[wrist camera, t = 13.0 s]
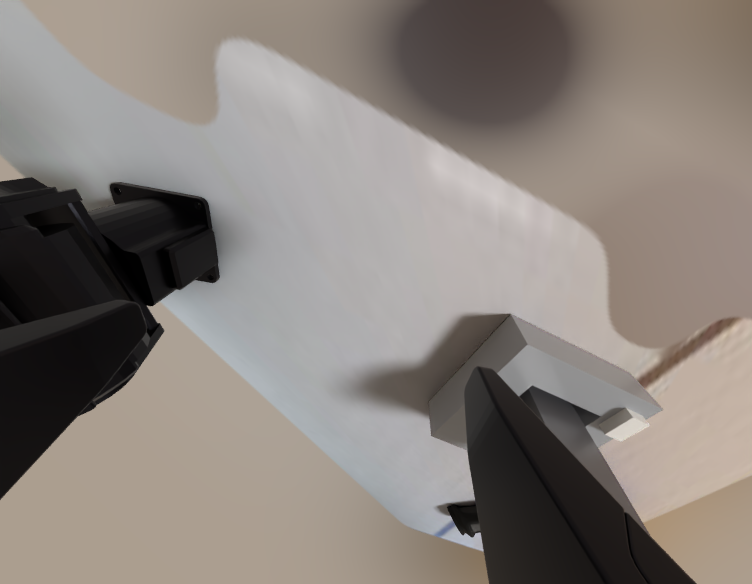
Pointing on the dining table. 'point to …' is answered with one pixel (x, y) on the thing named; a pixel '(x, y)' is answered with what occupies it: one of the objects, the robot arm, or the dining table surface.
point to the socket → (548, 384)
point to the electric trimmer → (465, 519)
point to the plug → (576, 440)
